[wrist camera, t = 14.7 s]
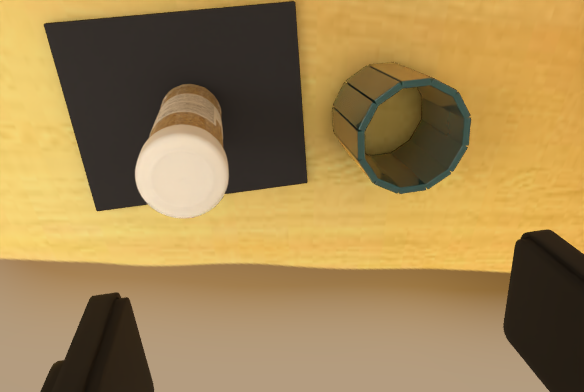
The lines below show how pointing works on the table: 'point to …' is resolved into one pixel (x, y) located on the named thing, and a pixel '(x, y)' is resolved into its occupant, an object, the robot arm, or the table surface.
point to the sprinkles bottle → (184, 155)
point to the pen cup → (425, 140)
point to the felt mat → (177, 71)
